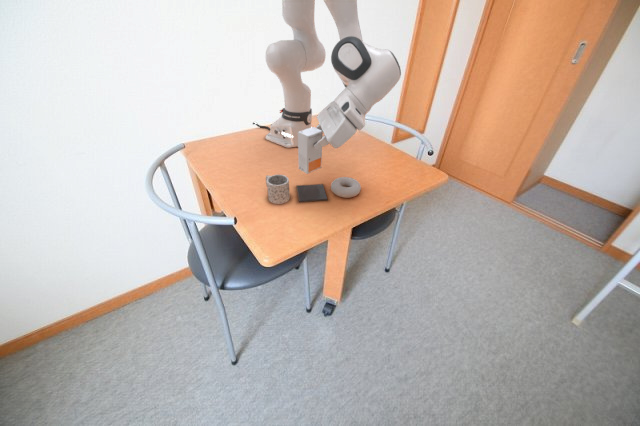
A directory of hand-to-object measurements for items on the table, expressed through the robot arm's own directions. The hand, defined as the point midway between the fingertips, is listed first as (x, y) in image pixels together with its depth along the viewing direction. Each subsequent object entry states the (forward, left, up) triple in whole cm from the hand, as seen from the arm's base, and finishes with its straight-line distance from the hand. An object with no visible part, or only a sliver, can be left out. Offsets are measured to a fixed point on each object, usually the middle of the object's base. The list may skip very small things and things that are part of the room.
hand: (313, 143), depth 79 cm
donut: (+9, +7, -17) cm, 21 cm away
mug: (-9, -7, -17) cm, 21 cm away
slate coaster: (0, 0, -17) cm, 17 cm away
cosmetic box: (-1, -1, -8) cm, 8 cm away
